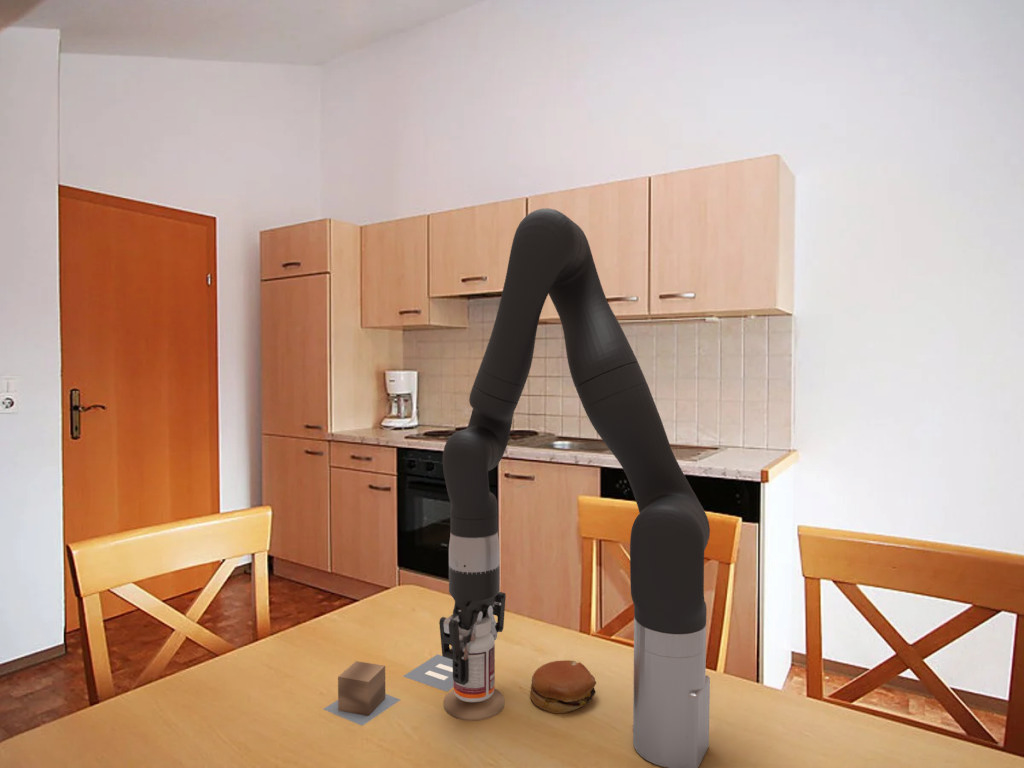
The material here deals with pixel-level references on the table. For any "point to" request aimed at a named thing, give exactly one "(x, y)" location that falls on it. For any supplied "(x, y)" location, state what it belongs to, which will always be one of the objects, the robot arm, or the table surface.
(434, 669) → the code tile
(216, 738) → the table surface
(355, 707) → the walnut block
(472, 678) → the pill bottle
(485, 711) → the coaster
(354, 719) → the code tile
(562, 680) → the burger
